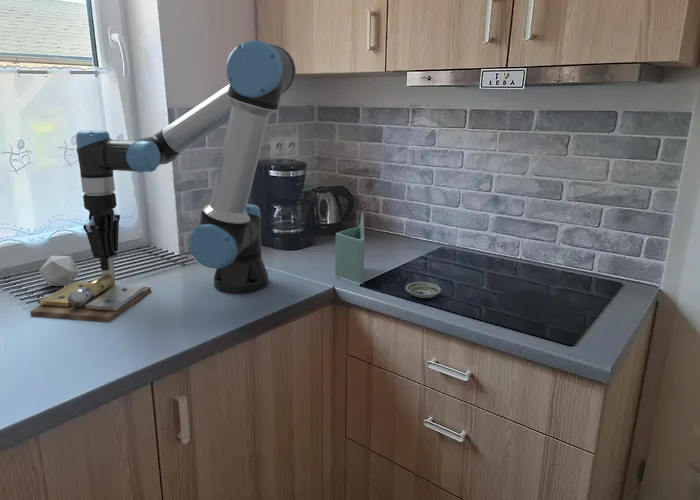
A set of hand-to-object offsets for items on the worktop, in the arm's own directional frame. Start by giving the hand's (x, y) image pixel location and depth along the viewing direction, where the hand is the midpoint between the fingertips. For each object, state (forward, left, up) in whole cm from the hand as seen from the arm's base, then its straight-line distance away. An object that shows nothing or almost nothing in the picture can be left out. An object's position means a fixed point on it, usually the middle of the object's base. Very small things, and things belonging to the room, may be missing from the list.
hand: (109, 280), depth 141 cm
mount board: (0, +7, -3) cm, 8 cm away
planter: (-61, -25, -4) cm, 66 cm away
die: (+16, -3, -4) cm, 17 cm away
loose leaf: (+4, +7, -2) cm, 8 cm away
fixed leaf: (-4, +7, -2) cm, 9 cm away
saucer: (-83, -14, -4) cm, 84 cm away
